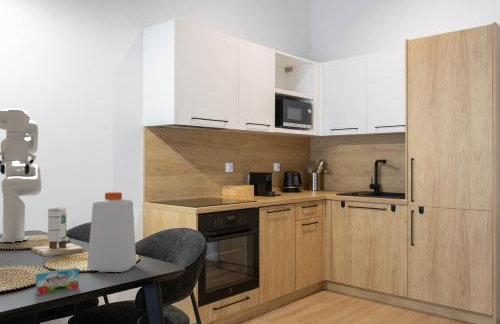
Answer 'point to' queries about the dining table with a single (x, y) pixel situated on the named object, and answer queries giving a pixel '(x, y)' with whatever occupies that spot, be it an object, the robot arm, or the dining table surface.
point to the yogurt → (57, 281)
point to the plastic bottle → (112, 235)
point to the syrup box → (57, 224)
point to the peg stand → (57, 248)
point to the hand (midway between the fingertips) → (14, 174)
